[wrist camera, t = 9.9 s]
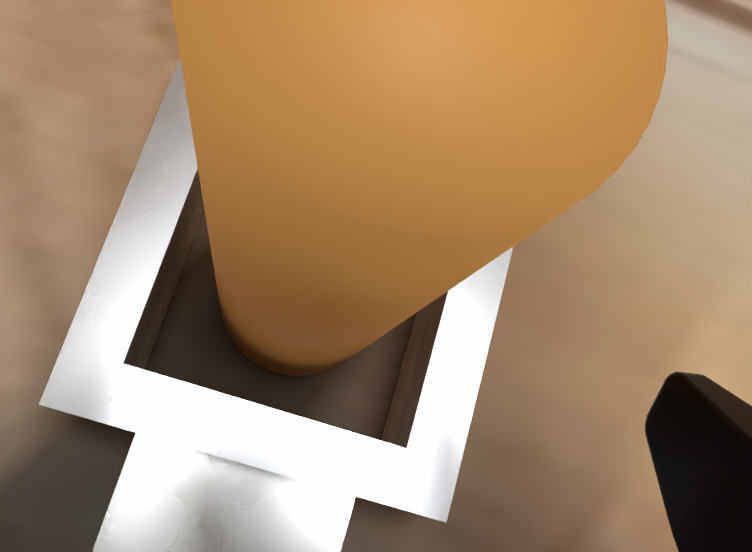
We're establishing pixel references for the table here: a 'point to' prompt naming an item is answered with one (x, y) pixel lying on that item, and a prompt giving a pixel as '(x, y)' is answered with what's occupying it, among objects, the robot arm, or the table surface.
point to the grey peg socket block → (245, 418)
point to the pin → (396, 148)
